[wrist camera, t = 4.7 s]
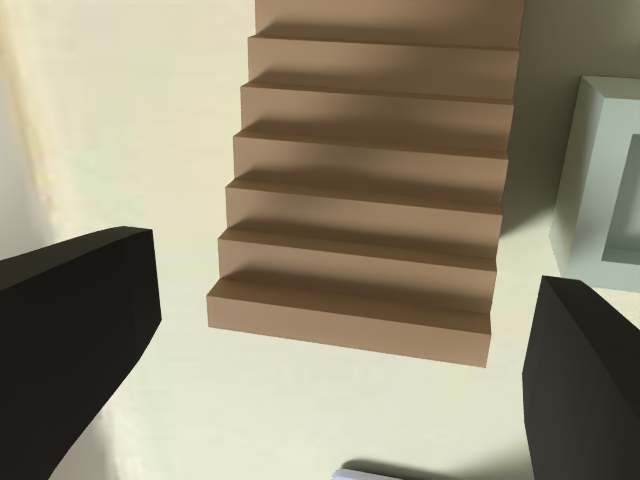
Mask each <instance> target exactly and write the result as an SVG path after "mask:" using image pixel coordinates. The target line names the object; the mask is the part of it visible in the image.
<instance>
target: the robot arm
mask: <svg viewBox="0 0 640 480" xmlns="http://www.w3.org/2000/svg"><path fill="white" fill-rule="evenodd" d="M161 320H162V318H161V308H160V298H159V289H158V279H157V270H156V260H155V250H154V241H153V231H152V229H144V228H136V227H127V226H121V227H114V228H109V229H105V230H101V231H97V232H93V233H89V234H86V235H83V236H79V237H76V238H73V239H69V240H66V241H63V242H60V243H56V244H53V245H50V246H47V247H44V248H41V249H38V250H34V251H31V252H28V253H25V254H21V255H19V256H15V257H11V258H8V259H4V260H1V261H0V480H48V479H49V478H50V476H51V474H52V473H53V471H54V470H55V468H56V467H57V465H58V464H59V463H60V461H61V460H62V459H63V457H64V456H65V454H66V453H67V452H68V450H69V449H70V448H71V446H72V445H73V444H74V442H75V441H76V440H77V439H78V437H79V436H80V435H81V434H82V432H83V431H84V430H85V429H86V427H87V426H88V425H89V424H90V422H91V421H92V420H93V419H94V417H95V416H96V415H97V414H98V412H99V411H100V410H101V409H102V407H103V406H104V405H105V404H106V402H107V401H108V400H109V399H110V397H111V396H112V395H113V394H114V392H115V391H116V390H117V388H118V387H119V386H120V385H121V383H122V382H123V381H124V379H125V378H126V377H127V376H128V374H129V373H130V372H131V370H132V369H133V368H134V366H135V365H136V364H137V362H138V361H139V360H140V358H141V356H142V355H143V353H144V351H145V349H146V348H147V346H148V344H149V343H150V341H151V339H152V337H153V335H154V333H155V332H156V330H157V328H158V326H159V324H160V322H161ZM522 381H523V406H524V423H525V429H526V435H527V440H528V445H529V451H530V456H531V462H532V467H533V472H534V478H535V480H640V330H639V329H638V328H637V327H636V326H634V325H633V324H632V323H631V322H630V321H629V320H627V319H626V318H625V317H624V316H623V315H622V314H620V313H619V312H618V311H617V310H616V309H615V308H614V307H613V306H611V305H610V304H609V303H608V302H607V301H606V300H605V299H603V298H602V297H601V296H600V295H599V294H598V293H596V292H595V291H594V290H593V289H592V288H590V287H589V286H588V285H587V284H585V283H584V282H582V281H581V280H577V279H569V278H560V277H552V276H543V275H542V279H541V284H540V289H539V293H538V298H537V303H536V308H535V313H534V318H533V323H532V328H531V333H530V337H529V342H528V347H527V352H526V357H525V362H524V367H523V372H522ZM331 480H402V479H397V478H392V477H386V476H381V475H376V474H370V473H365V472H359V471H354V470H349V469H339V470H336V471H335V472H334V473H333V475H332V479H331Z"/></svg>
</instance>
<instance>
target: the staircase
mask: <svg viewBox="0 0 640 480" xmlns="http://www.w3.org/2000/svg"><path fill="white" fill-rule="evenodd" d="M524 6H525V0H255V19H256V35H254V36H251V37H248V69H249V82H248V83H246V84H245V85H243V86H241V87H240V91H241V122H242V130H241V131H240V132H239V133H237V134H236V135H235V136H233V152H234V177H235V179H234V180H233V181H232V182H231V183H230V184H228V185H227V186H226V187H225V190H226V212H227V229H226V230H225V231H224V233H223V234H222V235H221V236H220V237H219V238H218V254H219V273H220V279H219V280H218V282H217V283H216V284H215V285H214V287H213V288H212V289H211V291H210V292H209V293H208V294H207V296H206V298H207V313H208V327H212V328H219V329H225V330H232V331H239V332H246V333H252V334H259V335H266V336H273V337H280V338H286V339H293V340H300V341H307V342H313V343H320V344H327V345H334V346H340V347H347V348H354V349H361V350H368V351H374V352H381V353H388V354H395V355H401V356H408V357H415V358H422V359H428V360H435V361H442V362H449V363H456V364H462V365H469V366H476V367H483V368H486V363H487V357H488V351H489V346H490V340H491V323H490V311H491V305H492V299H493V293H494V287H495V281H496V275H497V267H496V254H497V248H498V242H499V236H500V230H501V224H502V218H503V213H502V206H501V204H502V198H503V192H504V186H505V180H506V174H507V167H508V161H509V159H508V154H507V149H508V142H509V136H510V130H511V124H512V117H513V111H514V103H513V100H512V99H513V93H514V87H515V80H516V74H517V68H518V61H519V55H520V51H519V49H518V44H519V38H520V31H521V25H522V19H523V12H524Z"/></svg>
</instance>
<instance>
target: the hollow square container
mask: <svg viewBox="0 0 640 480" xmlns="http://www.w3.org/2000/svg"><path fill="white" fill-rule="evenodd" d="M549 238H550V241H551V245H552V248H553V251H554V255H555V258H556V261H557V265H558V268H559V271H560V275H561V278H569V279H577V280H581V281H582V282H584V283H585V284H587V285H588V286H589V287H596V288H604V289H613V290H621V291H629V292H638V293H640V79H635V78H618V77H601V76H583V75H582V76H581V81H580V86H579V91H578V96H577V101H576V106H575V110H574V115H573V120H572V125H571V130H570V135H569V140H568V145H567V150H566V155H565V160H564V165H563V169H562V174H561V179H560V184H559V189H558V194H557V199H556V204H555V209H554V214H553V219H552V224H551V229H550V233H549Z"/></svg>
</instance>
